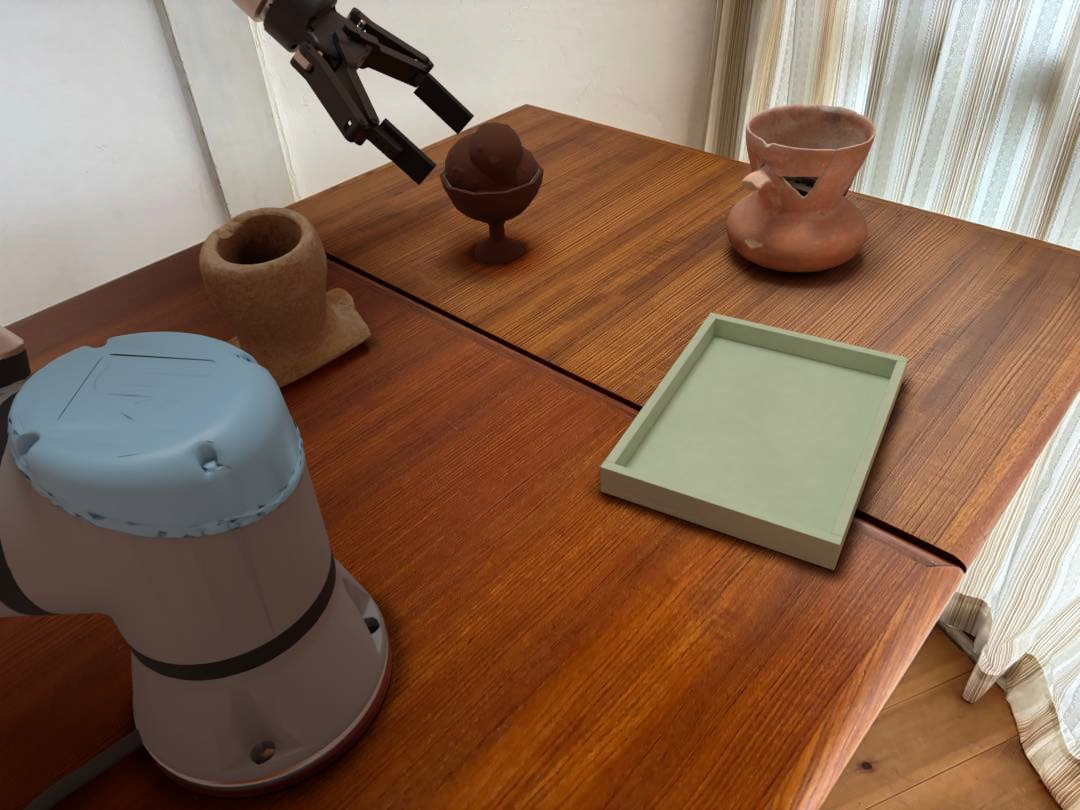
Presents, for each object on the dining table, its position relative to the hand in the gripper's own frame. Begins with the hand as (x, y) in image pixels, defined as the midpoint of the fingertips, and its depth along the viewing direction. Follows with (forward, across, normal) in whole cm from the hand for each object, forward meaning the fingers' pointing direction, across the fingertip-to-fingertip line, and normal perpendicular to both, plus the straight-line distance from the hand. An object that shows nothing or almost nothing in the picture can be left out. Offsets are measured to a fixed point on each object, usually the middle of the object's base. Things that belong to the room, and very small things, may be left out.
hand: (448, 149), depth 89 cm
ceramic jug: (+35, +4, -18) cm, 39 cm away
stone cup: (+2, -23, +15) cm, 28 cm away
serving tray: (+32, -28, -16) cm, 45 cm away
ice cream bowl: (+12, 0, +5) cm, 13 cm away
